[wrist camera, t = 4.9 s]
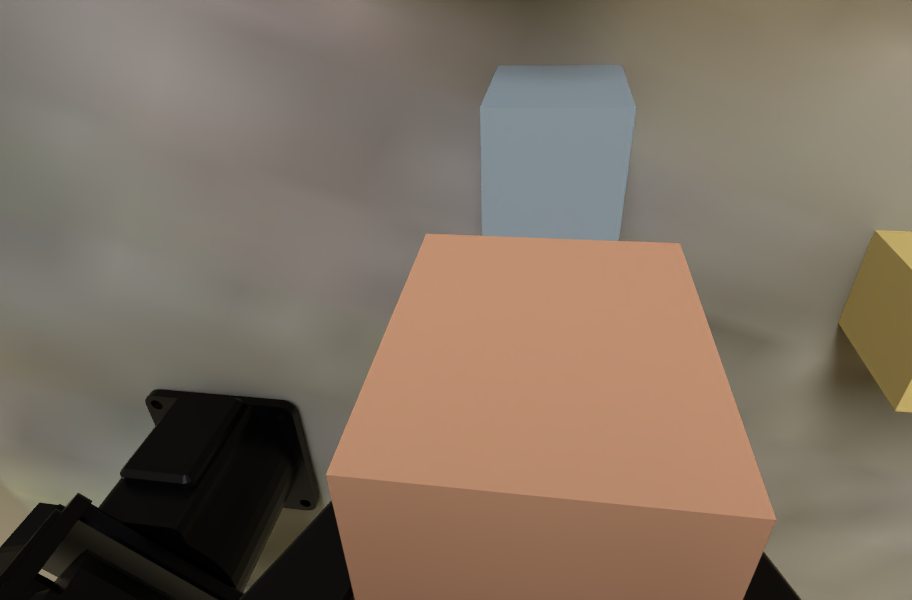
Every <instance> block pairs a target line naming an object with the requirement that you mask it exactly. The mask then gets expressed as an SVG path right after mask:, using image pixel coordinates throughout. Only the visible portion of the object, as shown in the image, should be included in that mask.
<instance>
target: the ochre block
mask: <svg viewBox="0 0 912 600" xmlns="http://www.w3.org/2000/svg"><path fill="white" fill-rule="evenodd" d="M838 323H839V325H840V326H841V328H842V329H843V331H844V333H845V334H846V336H847V337H848V339H849V340H850V342H851V343H852V345H853V347H854V348H855V350H856V351H857V353H858V354H859V356H860V357H861V359H862V361H863V362H864V364H865V365H866V367H867V368H868V370H869V371H870V373H871V375H872V376H873V378H874V379H875V381H876V382H877V384H878V385H879V387H880V389H881V390H882V392H883V393H884V395H885V396H886V398H887V399H888V401H889V403H890V404H891V406H892V407H893V409H894V410H895V411H900V412H912V232H907V231H879V230H875V232H874V234H873V237H872V239H871V242H870V244H869V247H868V249H867V252H866V254H865V257H864V259H863V262H862V264H861V267H860V269H859V272H858V274H857V277H856V279H855V282H854V284H853V287H852V289H851V292H850V294H849V297H848V299H847V302H846V304H845V307H844V309H843V312H842V314H841V317H840V319H839V322H838Z"/></svg>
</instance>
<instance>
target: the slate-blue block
mask: <svg viewBox="0 0 912 600" xmlns="http://www.w3.org/2000/svg"><path fill="white" fill-rule="evenodd" d="M635 115H636V106H635V103H634V100H633V97H632V94H631V91H630V88H629V85H628V82H627V79H626V76H625V73H624V70H623V67H622V65H527V66H498V67H497V69H496V72H495V74H494V76H493V79H492V81H491V83H490V86H489V88H488V90H487V93H486V95H485V97H484V100H483V102H482V104H481V107H480V127H481V205H482V236H500V237H526V238H553V239H579V240H606V241H619V235H620V228H621V220H622V213H623V205H624V198H625V190H626V183H627V175H628V168H629V160H630V153H631V145H632V138H633V130H634V123H635Z"/></svg>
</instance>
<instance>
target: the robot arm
mask: <svg viewBox="0 0 912 600" xmlns="http://www.w3.org/2000/svg"><path fill="white" fill-rule="evenodd" d="M145 402H146V405H147V407H148V410H149V412H150V414H151V416H152V419H153V421H154V423H155V425H156V426H155V428H154V429H153V430H152V431H151V433H150V434H149V435H148V437H147V438H146V439H145V440H144V442H143V443H142V444H141V445H140V447H139V448H138V449H137V451H136V452H135V453H134V454H133V456H132V457H131V458H130V459H129V461H128V462H127V463H126V465H125V466H124V467H123V468H122V470H121V472H120V475H121V477H122V478H121V479H120V480H119V482H118V483H117V484H116V486H115V487H114V488H113V489H112V491H111V492H110V493H109V495H108V496H107V497H106V498H105V500H104V501H103V502H102V504H101V505H100V506H99V508H97V507H96V506H94V505H92V504H91V502H92V500H90V499H88V498H86V497H85V496H83V495H81V494H80V493H77V495H76V496H75V497H74V498H73V499H72V500H71V501H70V502H69V503H68V504H67V505H66V506H65V507H64V506H63V505H61V504H59V505H54V504H45V503H39V504H38V505H37V506H36V507H35V508H34V509H33V511H32V512H31V513H30V514H29V515H28V516H27V517H26V519H25V520H24V521H23V522H22V523H21V524H20V525H19V527H18V528H17V529H16V530H15V531H14V532H13V533H12V534H11V536H10V537H9V538H8V539H7V540H6V542H4V544H3V545H2V546H1V547H0V600H355V598H354V594H353V589H352V585H351V581H350V577H349V572H348V568H347V564H346V559H345V555H344V551H343V547H342V542H341V538H340V534H339V529H338V525H337V521H336V517H335V512H334V508H333V504H332V501H331V502H330V503H329V504H328V505H327V506H326V507H325V508H324V509H323V510H322V511H321V512H320V514H319V515H318V516H317V517H316V518H315V519H314V520H313V521H312V522H311V523H310V524H309V525H308V526H307V527H306V529H305V530H304V531H303V532H302V533H301V534H300V535H299V536H298V537H297V538H296V539H295V540H294V541H293V542H292V544H291V545H290V546H289V547H288V548H287V549H286V550H285V551H284V552H283V553H282V554H281V555H280V556H279V557H278V559H277V560H276V561H275V562H274V563H273V564H272V565H271V566H270V567H269V568H268V569H267V570H266V571H265V572H264V574H263V575H262V576H261V577H260V578H259V579H258V580H257V581H256V582H255V583H254V584H253V585H252V586H251V587H250V589H249V590H248V591H247V592H246V593H245V594H244V593H243V591H244V589H245V587H246V585H247V583H248V581H249V579H250V576H251V574H252V572H253V570H254V568H255V566H256V564H257V562H258V559H259V557H260V555H261V553H262V551H263V549H264V547H265V544H266V542H267V540H268V538H269V536H270V534H271V532H272V530H273V527H274V525H275V523H276V521H277V519H278V517H279V515H280V512H281V510H282V508H292V509H301V510H313V509H315V507H316V505H317V503H318V501H319V496H318V492H317V488H316V484H315V480H314V476H313V472H312V468H311V464H310V460H309V456H308V452H307V449H306V445H305V441H304V437H303V433H302V429H301V425H300V421H299V417H298V413H297V410H296V408H295V406H294V405H293V404H292V403H290V402H288V401H284V400H276V399H264V398H252V397H241V396H229V395H217V394H206V393H194V392H182V391H171V390H159V389H158V390H153V391H152V392H151V393H150V394H149V395H148V397H147V398H146V400H145ZM41 569H44V570H46V571H47V572H49V573H51V574H53V575H55V576H57V577H58V578H57V580H56V581H55V582H53V581H51V580H49V579H48V578H46V577H44V576H42V575H40V574H38V573H39V571H40V570H41ZM743 600H801V599H800V597H799V596H798V595H797V594H796V592H795V591H794V590H793V588H792V587H791V586H790V585H789V583H788V582H787V581H786V579H785V578H784V577H783V576H782V574H781V573H780V572H779V571H778V569H777V568H776V567H775V565H774V564H773V563H772V562H771V560H770V559H769V558H768V556H767V555H766V554H765V553H764V551H763V553H762V555H761V558H760V560H759V563H758V565H757V567H756V570H755V572H754V574H753V577H752V579H751V582H750V584H749V586H748V589H747V591H746V593H745V596H744V598H743Z"/></svg>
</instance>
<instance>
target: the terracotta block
mask: <svg viewBox="0 0 912 600" xmlns="http://www.w3.org/2000/svg"><path fill="white" fill-rule="evenodd" d="M326 478H327V482H328V487H329V491H330V495H331V500H332V504H333V508H334V512H335V517H336V521H337V525H338V529H339V534H340V538H341V542H342V547H343V551H344V555H345V559H346V564H347V568H348V572H349V577H350V581H351V585H352V589H353V594H354V598H355V600H743V598H744V596H745V593H746V591H747V589H748V586H749V584H750V582H751V579H752V577H753V574H754V572H755V570H756V567H757V565H758V563H759V560H760V558H761V555H762V553H763V551H764V548H765V546H766V544H767V541H768V539H769V536H770V534H771V532H772V529H773V527H774V525H775V522H776V517H775V514H774V512H773V509H772V506H771V503H770V500H769V497H768V494H767V491H766V489H765V486H764V483H763V480H762V477H761V474H760V471H759V469H758V466H757V463H756V460H755V457H754V454H753V451H752V449H751V446H750V443H749V440H748V437H747V434H746V431H745V428H744V426H743V423H742V420H741V417H740V414H739V411H738V408H737V406H736V403H735V400H734V397H733V394H732V391H731V388H730V386H729V383H728V380H727V377H726V374H725V371H724V368H723V365H722V363H721V360H720V357H719V354H718V351H717V348H716V345H715V343H714V340H713V337H712V334H711V331H710V328H709V325H708V323H707V320H706V317H705V314H704V311H703V308H702V305H701V302H700V300H699V297H698V294H697V291H696V288H695V285H694V282H693V280H692V277H691V274H690V271H689V268H688V265H687V262H686V260H685V257H684V254H683V251H682V248H681V245H680V243H659V242H632V241H606V240H579V239H553V238H526V237H500V236H473V235H447V234H426V236H425V238H424V240H423V243H422V245H421V248H420V250H419V252H418V255H417V257H416V260H415V262H414V264H413V267H412V269H411V272H410V274H409V276H408V279H407V281H406V284H405V286H404V288H403V291H402V293H401V296H400V298H399V300H398V303H397V305H396V308H395V310H394V312H393V315H392V317H391V320H390V322H389V324H388V327H387V329H386V332H385V334H384V336H383V339H382V341H381V344H380V346H379V348H378V351H377V353H376V356H375V358H374V360H373V363H372V365H371V367H370V370H369V372H368V375H367V377H366V379H365V382H364V384H363V387H362V389H361V391H360V394H359V396H358V399H357V401H356V403H355V406H354V408H353V411H352V413H351V415H350V418H349V420H348V423H347V425H346V427H345V430H344V432H343V435H342V437H341V439H340V442H339V444H338V447H337V449H336V451H335V454H334V456H333V459H332V461H331V463H330V466H329V468H328V471H327V473H326Z"/></svg>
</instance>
